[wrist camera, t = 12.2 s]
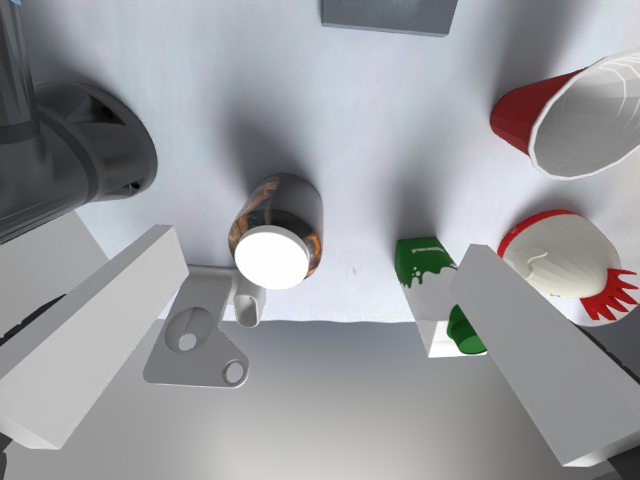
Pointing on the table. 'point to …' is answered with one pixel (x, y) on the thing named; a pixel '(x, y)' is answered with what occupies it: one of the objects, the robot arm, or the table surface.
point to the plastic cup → (576, 118)
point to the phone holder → (205, 329)
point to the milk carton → (435, 298)
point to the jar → (279, 232)
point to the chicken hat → (568, 261)
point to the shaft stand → (391, 15)
